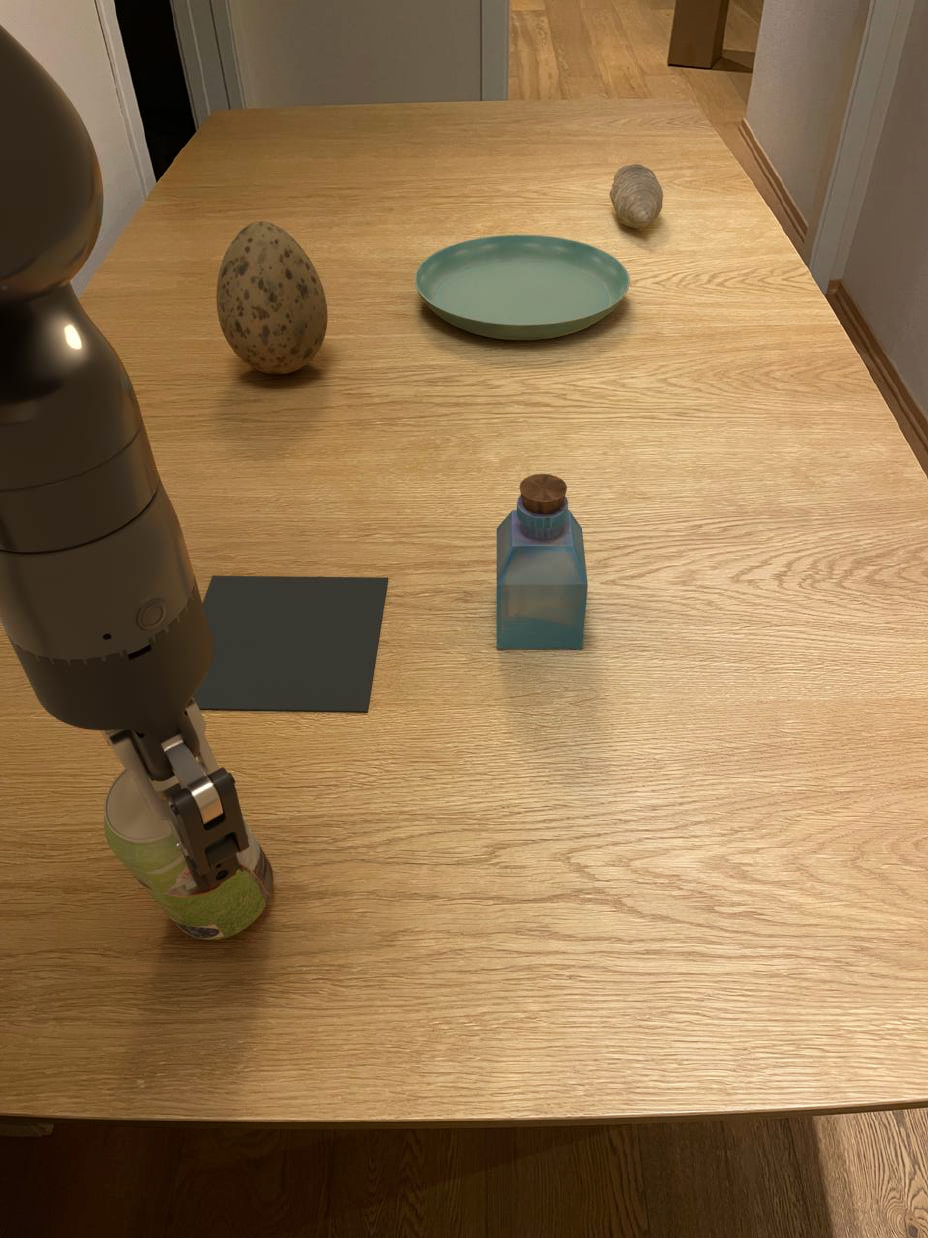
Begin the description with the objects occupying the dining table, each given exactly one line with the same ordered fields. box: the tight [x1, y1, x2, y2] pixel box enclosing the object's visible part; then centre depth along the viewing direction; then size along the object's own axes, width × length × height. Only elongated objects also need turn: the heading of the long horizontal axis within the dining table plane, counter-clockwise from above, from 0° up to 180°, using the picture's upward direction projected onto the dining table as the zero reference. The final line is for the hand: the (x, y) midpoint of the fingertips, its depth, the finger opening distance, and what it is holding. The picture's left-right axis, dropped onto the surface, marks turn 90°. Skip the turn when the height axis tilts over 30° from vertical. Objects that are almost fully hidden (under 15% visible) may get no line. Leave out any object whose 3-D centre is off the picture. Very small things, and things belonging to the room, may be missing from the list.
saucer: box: [414, 234, 631, 341], centre depth 111 cm, size 24×24×3 cm
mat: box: [192, 575, 389, 713], centre depth 72 cm, size 14×14×1 cm
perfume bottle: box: [496, 473, 589, 650], centre depth 68 cm, size 6×6×12 cm
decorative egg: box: [215, 220, 329, 375], centre depth 97 cm, size 11×11×15 cm
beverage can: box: [103, 758, 274, 941], centre depth 51 cm, size 6×7×12 cm
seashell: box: [608, 163, 664, 229], centre depth 126 cm, size 6×14×8 cm, turn 3°
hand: (189, 832), depth 50 cm, fingers closed on beverage can, 6 cm apart
